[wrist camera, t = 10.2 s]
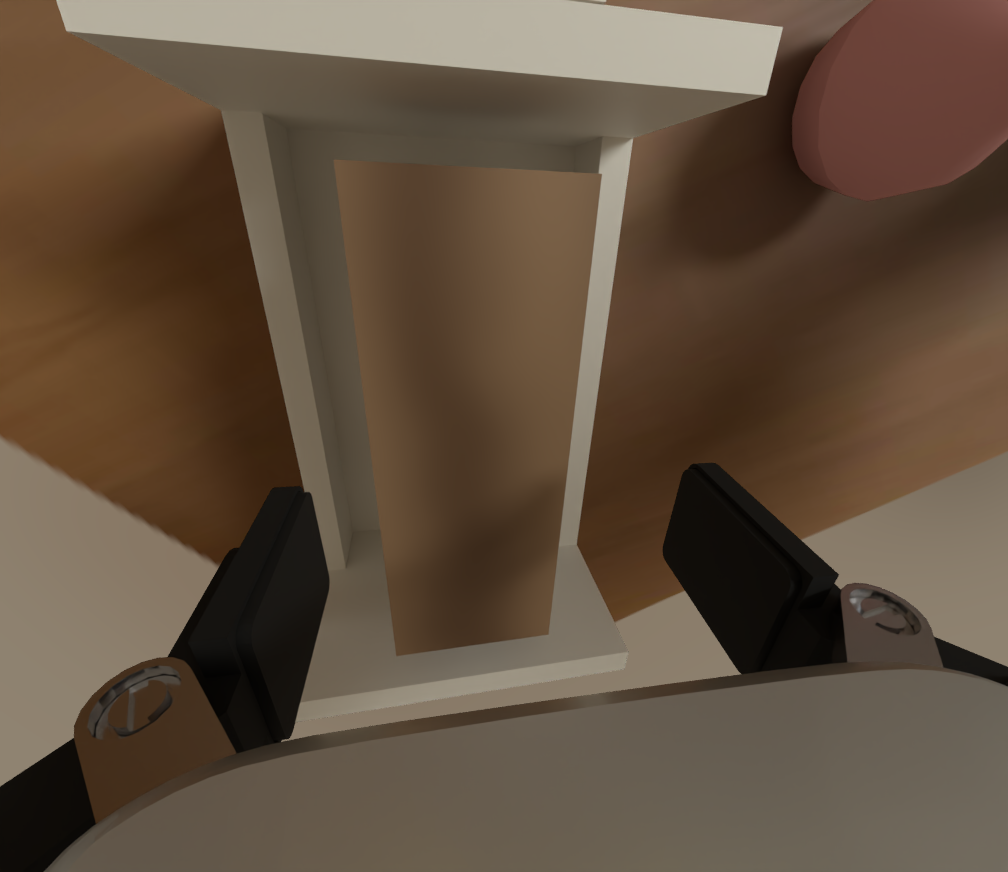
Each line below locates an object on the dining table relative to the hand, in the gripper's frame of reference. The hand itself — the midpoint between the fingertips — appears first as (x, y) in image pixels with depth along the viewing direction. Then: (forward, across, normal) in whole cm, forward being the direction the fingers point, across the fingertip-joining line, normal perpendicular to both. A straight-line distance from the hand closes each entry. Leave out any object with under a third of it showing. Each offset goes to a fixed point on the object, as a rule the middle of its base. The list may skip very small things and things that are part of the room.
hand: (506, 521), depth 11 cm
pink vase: (+15, -18, -12) cm, 26 cm away
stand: (+14, +1, 0) cm, 14 cm away
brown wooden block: (+8, +1, 0) cm, 8 cm away
